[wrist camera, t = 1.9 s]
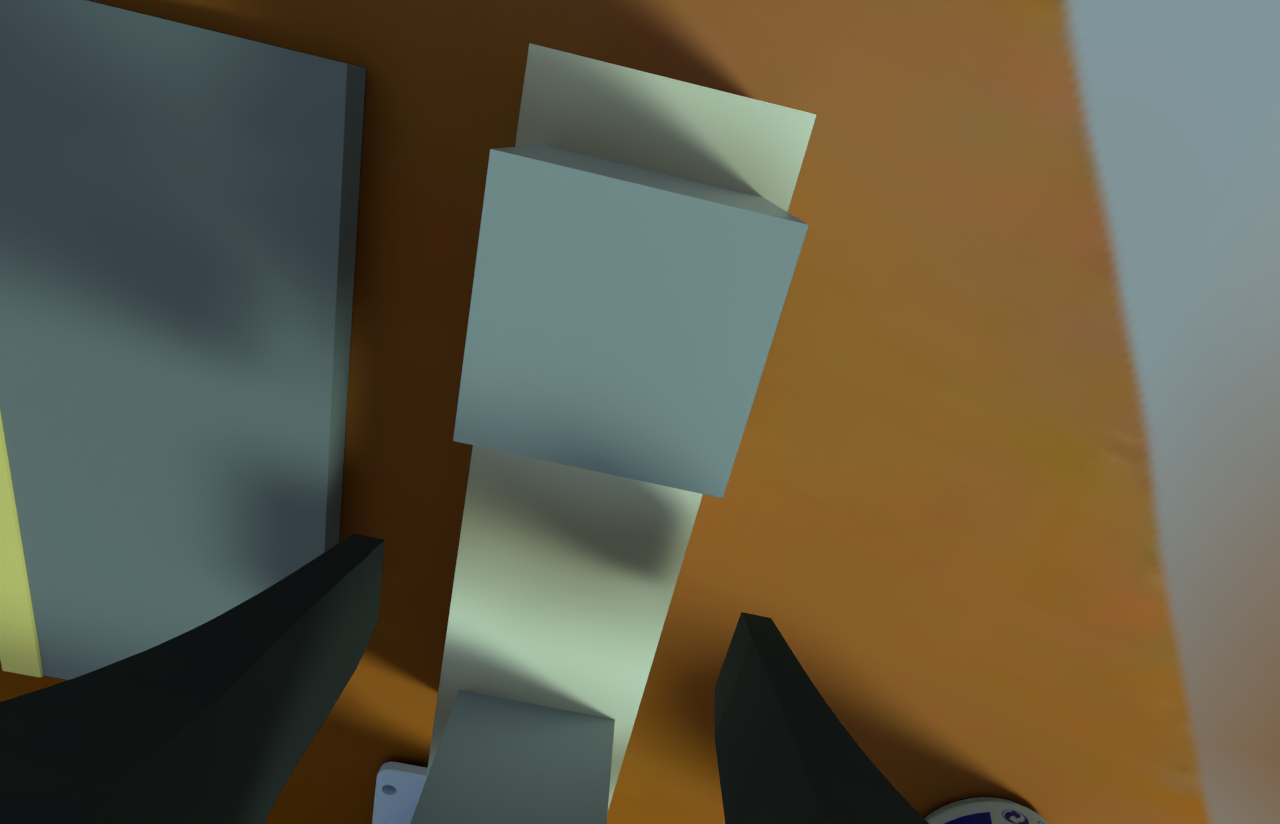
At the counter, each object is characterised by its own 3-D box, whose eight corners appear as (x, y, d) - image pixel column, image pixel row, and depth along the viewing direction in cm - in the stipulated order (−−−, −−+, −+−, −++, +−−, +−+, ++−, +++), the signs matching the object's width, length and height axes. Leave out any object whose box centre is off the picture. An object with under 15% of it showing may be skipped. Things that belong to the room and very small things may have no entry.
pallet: (605, 731, 23) (592, 862, 19) (462, 704, 23) (418, 830, 19) (774, 120, 16) (816, 114, 11) (565, 68, 15) (529, 42, 11)
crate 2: (705, 398, 13) (723, 498, 10) (510, 355, 13) (452, 440, 10) (763, 197, 12) (808, 225, 8) (544, 144, 12) (490, 148, 8)
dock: (330, 701, 23) (314, 728, 22) (32, 646, 22) (2, 670, 21) (365, 67, 15) (345, 63, 14) (-84, -42, 15) (-139, -55, 14)
